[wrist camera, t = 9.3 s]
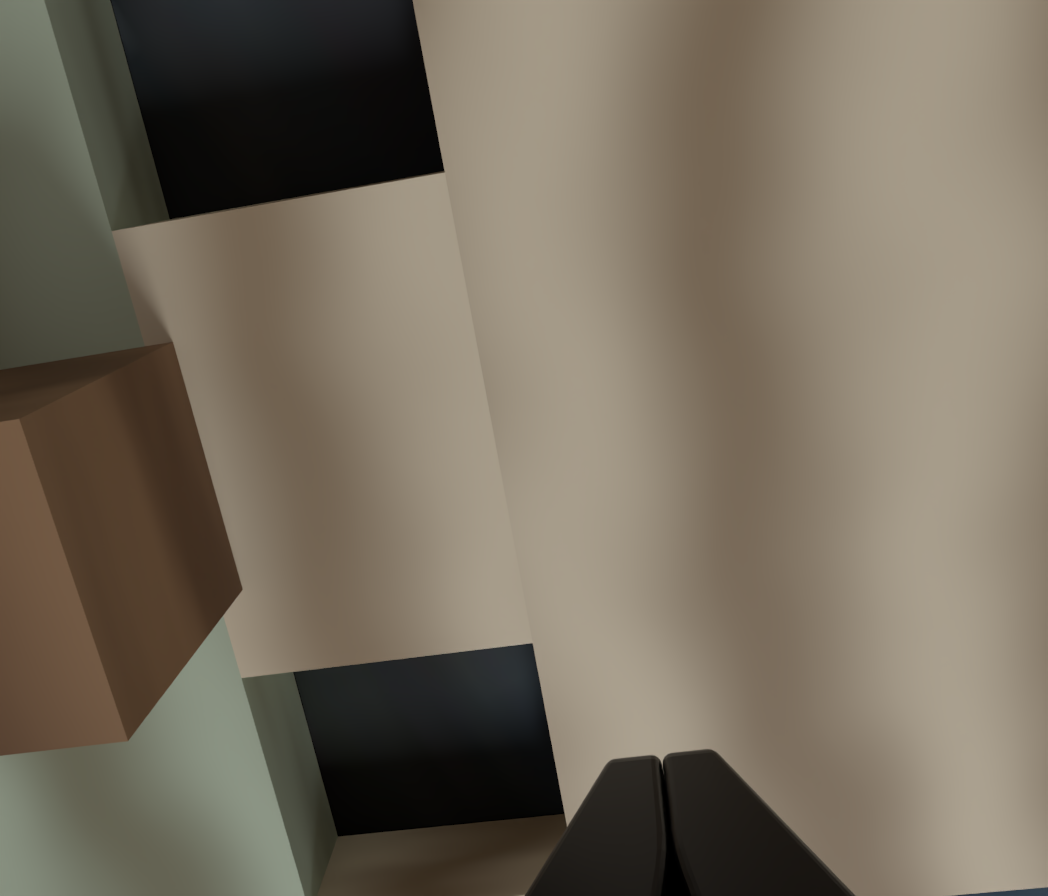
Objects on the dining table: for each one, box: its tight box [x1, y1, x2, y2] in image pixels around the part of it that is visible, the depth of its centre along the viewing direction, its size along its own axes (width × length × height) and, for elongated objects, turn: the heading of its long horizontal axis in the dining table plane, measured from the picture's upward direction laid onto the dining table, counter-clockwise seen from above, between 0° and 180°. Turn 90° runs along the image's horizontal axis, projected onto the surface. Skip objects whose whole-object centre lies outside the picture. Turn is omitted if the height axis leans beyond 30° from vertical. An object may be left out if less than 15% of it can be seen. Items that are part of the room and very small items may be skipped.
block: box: [0, 342, 243, 756], centre depth 16 cm, size 5×5×5 cm
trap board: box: [0, 0, 1048, 896], centre depth 19 cm, size 23×23×2 cm
